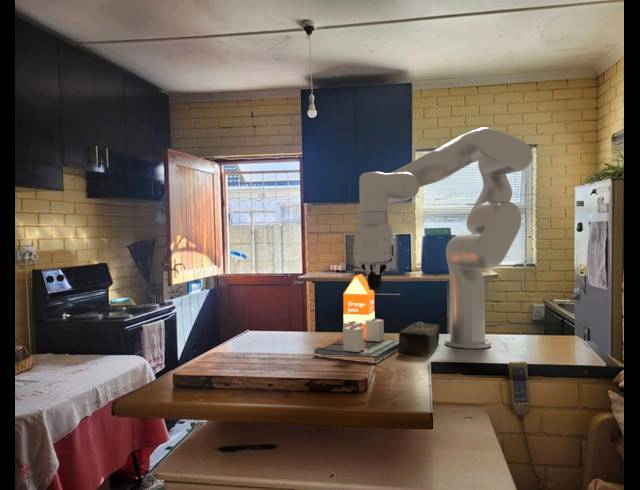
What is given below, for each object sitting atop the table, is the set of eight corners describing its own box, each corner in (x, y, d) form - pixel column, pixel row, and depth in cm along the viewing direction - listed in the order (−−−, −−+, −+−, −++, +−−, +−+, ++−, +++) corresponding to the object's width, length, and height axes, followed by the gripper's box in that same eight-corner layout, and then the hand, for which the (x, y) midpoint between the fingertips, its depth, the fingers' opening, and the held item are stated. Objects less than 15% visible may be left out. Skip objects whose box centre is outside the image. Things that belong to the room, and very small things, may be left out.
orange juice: (375, 338, 142) (374, 273, 142) (369, 344, 134) (368, 275, 134) (350, 337, 145) (349, 273, 145) (343, 343, 136) (342, 275, 136)
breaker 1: (349, 347, 119) (349, 325, 119) (363, 349, 117) (363, 326, 117) (343, 350, 116) (343, 327, 116) (358, 352, 114) (357, 328, 114)
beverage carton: (440, 344, 134) (440, 321, 134) (428, 359, 117) (428, 333, 117) (413, 342, 137) (412, 320, 137) (397, 356, 120) (397, 331, 120)
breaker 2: (370, 338, 131) (370, 317, 131) (383, 339, 129) (383, 318, 129) (365, 340, 128) (365, 319, 128) (379, 341, 126) (378, 320, 126)
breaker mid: (348, 341, 127) (348, 320, 127) (362, 342, 125) (361, 321, 125) (343, 343, 124) (343, 322, 124) (356, 345, 122) (356, 323, 122)
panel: (346, 343, 136) (346, 335, 136) (401, 348, 128) (401, 340, 128) (314, 356, 119) (314, 347, 119) (375, 364, 111) (375, 354, 111)
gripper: (341, 220, 122) (342, 289, 122) (396, 218, 114) (397, 292, 114) (353, 221, 128) (354, 287, 128) (406, 219, 121) (406, 289, 121)
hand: (374, 289), depth 121 cm, fingers closed
